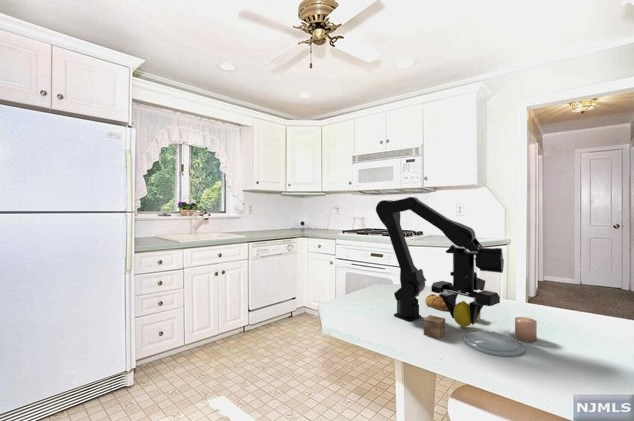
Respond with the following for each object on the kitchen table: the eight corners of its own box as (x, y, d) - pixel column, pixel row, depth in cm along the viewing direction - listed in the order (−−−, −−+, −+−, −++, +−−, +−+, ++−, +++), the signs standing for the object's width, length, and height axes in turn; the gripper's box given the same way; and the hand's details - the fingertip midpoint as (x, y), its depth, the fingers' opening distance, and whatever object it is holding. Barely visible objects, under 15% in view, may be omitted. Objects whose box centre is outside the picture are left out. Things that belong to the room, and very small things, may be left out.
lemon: (475, 332, 94) (475, 304, 94) (455, 330, 95) (455, 303, 95) (470, 325, 99) (470, 298, 99) (451, 323, 101) (451, 298, 100)
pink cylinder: (511, 337, 90) (511, 319, 90) (520, 333, 93) (520, 315, 93) (531, 343, 86) (531, 324, 86) (539, 339, 89) (540, 320, 89)
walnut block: (423, 335, 93) (423, 319, 92) (429, 330, 96) (429, 315, 96) (439, 339, 90) (439, 323, 90) (445, 334, 93) (445, 318, 93)
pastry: (455, 310, 114) (455, 299, 114) (440, 312, 112) (440, 301, 112) (437, 302, 123) (437, 292, 123) (422, 304, 120) (422, 294, 120)
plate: (453, 341, 88) (453, 336, 88) (482, 329, 96) (482, 325, 96) (507, 362, 76) (508, 357, 76) (535, 346, 84) (535, 342, 84)
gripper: (509, 270, 94) (509, 324, 94) (451, 261, 109) (451, 307, 110) (489, 275, 88) (489, 333, 88) (430, 265, 103) (430, 314, 103)
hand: (463, 321), depth 97 cm, fingers open, 6 cm apart
